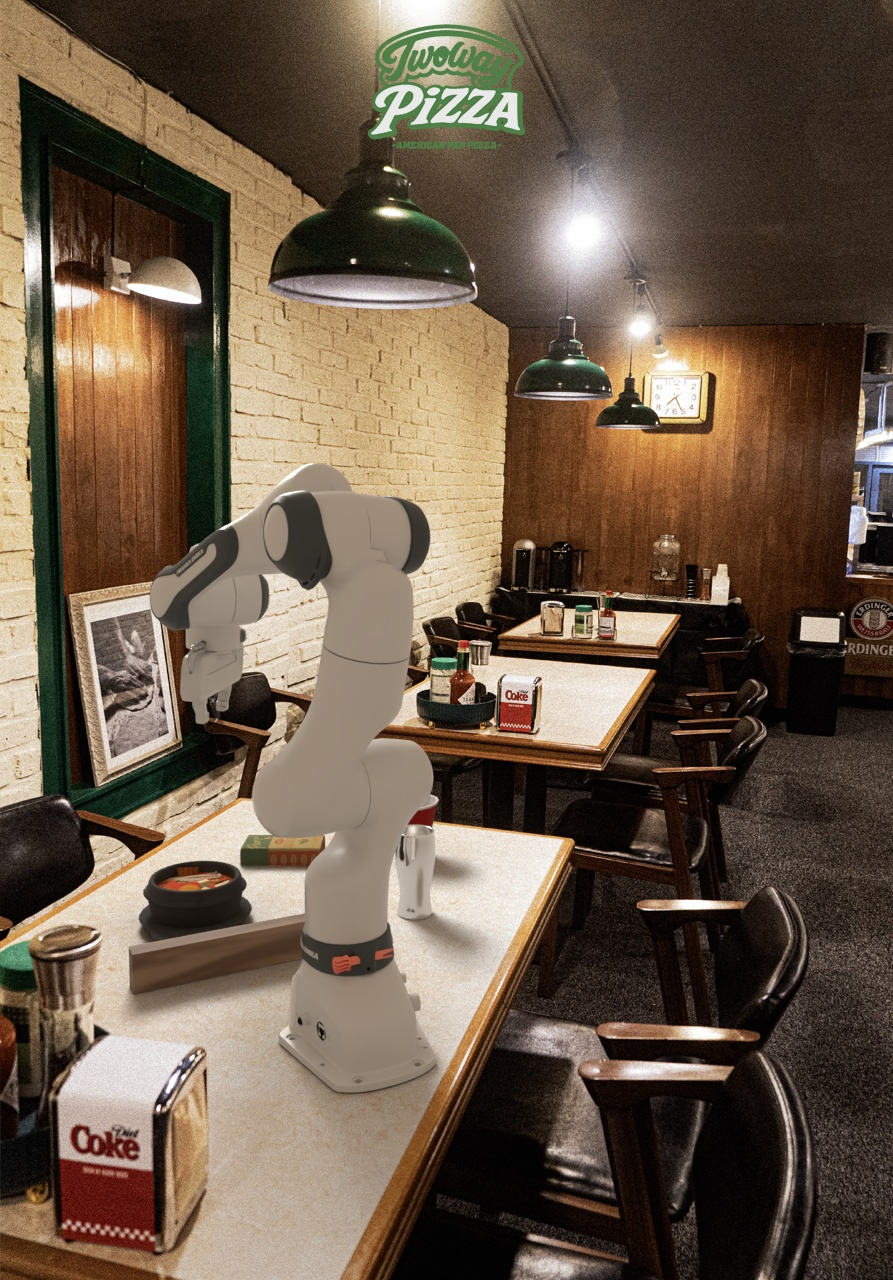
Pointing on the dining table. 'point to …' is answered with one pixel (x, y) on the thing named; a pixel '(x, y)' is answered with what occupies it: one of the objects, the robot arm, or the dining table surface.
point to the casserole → (194, 899)
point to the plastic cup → (425, 813)
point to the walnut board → (214, 953)
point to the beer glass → (415, 871)
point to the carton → (280, 850)
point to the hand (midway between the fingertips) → (212, 716)
